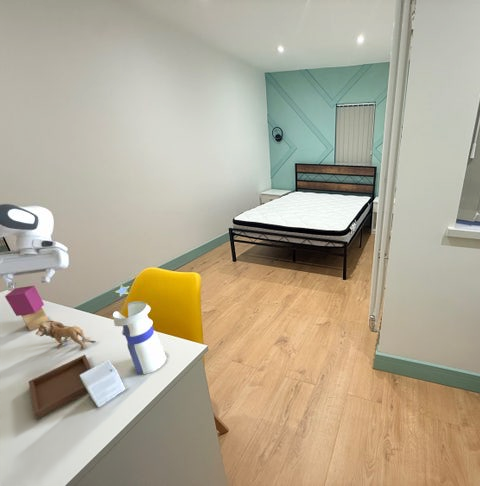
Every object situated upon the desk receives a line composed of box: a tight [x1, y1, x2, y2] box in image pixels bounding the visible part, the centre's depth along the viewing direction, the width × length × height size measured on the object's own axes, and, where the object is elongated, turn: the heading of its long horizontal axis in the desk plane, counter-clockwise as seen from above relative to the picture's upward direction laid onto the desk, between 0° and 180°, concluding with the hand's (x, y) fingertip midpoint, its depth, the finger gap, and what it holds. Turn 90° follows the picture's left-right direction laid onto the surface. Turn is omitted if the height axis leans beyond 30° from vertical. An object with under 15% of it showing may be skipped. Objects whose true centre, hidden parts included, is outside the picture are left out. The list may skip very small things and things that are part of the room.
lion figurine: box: [35, 320, 96, 350], centre depth 82 cm, size 15×5×9 cm, turn 92°
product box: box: [79, 359, 126, 408], centre depth 66 cm, size 6×6×7 cm
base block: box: [20, 306, 50, 331], centre depth 91 cm, size 5×5×6 cm
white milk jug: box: [112, 284, 167, 375], centre depth 71 cm, size 8×9×25 cm
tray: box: [28, 354, 93, 420], centre depth 69 cm, size 14×12×2 cm
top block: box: [4, 285, 45, 317], centre depth 89 cm, size 5×5×8 cm
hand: (28, 284), depth 91 cm, fingers open, 8 cm apart
